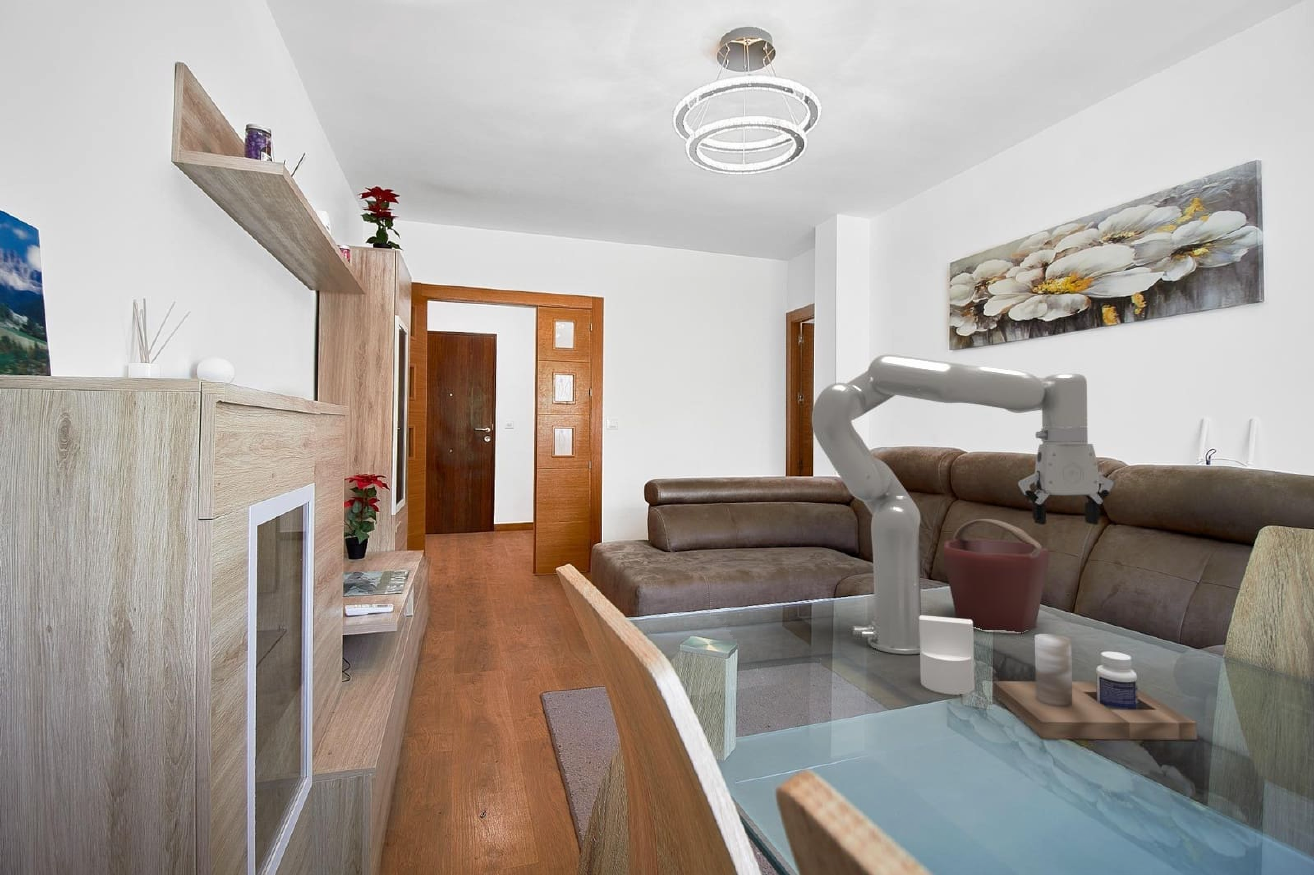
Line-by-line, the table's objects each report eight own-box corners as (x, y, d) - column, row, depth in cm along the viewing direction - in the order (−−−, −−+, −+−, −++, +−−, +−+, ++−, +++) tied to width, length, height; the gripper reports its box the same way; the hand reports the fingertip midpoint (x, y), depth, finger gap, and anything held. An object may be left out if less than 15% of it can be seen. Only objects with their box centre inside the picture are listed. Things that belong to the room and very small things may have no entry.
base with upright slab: (973, 679, 119) (972, 615, 119) (975, 697, 111) (973, 629, 111) (921, 673, 123) (920, 611, 123) (919, 690, 115) (917, 623, 115)
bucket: (1070, 639, 141) (1067, 526, 141) (970, 640, 141) (967, 528, 141) (1010, 609, 165) (1008, 513, 165) (925, 611, 166) (922, 515, 166)
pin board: (1042, 738, 96) (1040, 655, 96) (993, 695, 112) (991, 624, 112) (1196, 739, 94) (1194, 655, 94) (1124, 696, 110) (1122, 623, 110)
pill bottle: (1145, 724, 99) (1144, 662, 99) (1107, 722, 101) (1105, 660, 101) (1127, 709, 105) (1126, 650, 105) (1091, 707, 106) (1089, 649, 106)
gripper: (1028, 437, 123) (1029, 526, 123) (1123, 436, 121) (1124, 526, 121) (1010, 437, 130) (1011, 521, 130) (1099, 436, 129) (1100, 521, 129)
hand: (1065, 523), depth 126 cm, fingers open, 9 cm apart
